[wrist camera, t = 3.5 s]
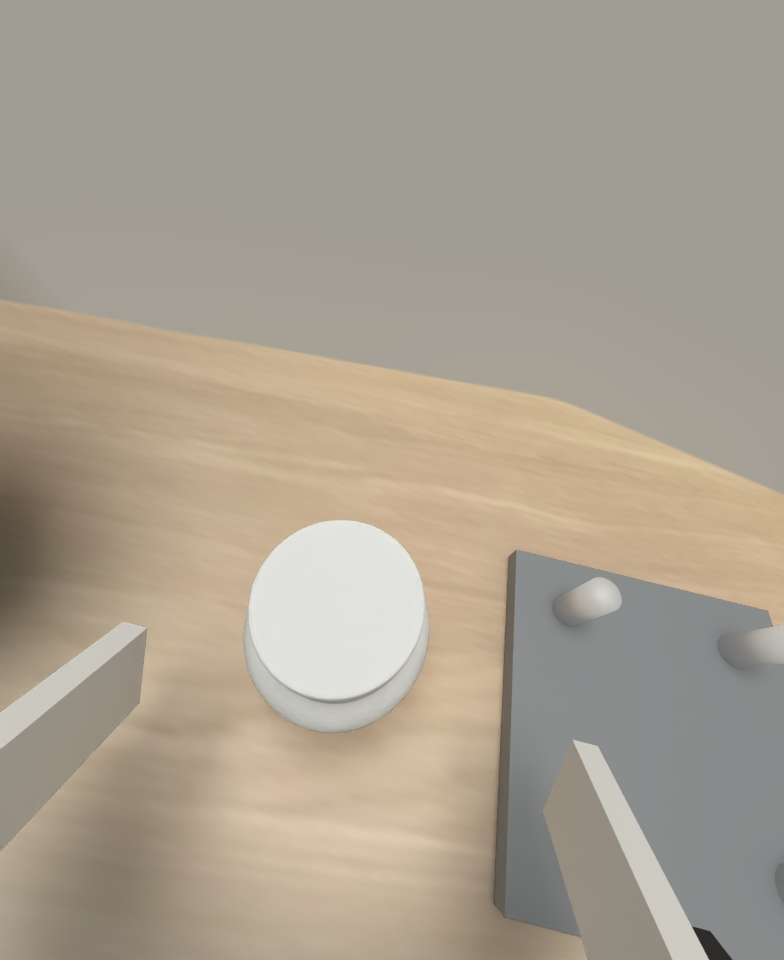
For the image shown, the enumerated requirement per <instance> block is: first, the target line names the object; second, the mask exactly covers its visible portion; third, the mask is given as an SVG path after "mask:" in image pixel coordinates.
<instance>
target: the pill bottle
mask: <svg viewBox="0 0 784 960" xmlns="http://www.w3.org/2000/svg"><path fill="white" fill-rule="evenodd" d="M428 641H429V615H428V609H427V605H426V601H425V596H424V588H423V584H422V581H421V577H420V574H419V572H418V570H417V567H416V565H415V564H414V562H413V560H412V558H411V557H410V555H409V554H408V552H407V551H406V550H405V549H404V548H403V546H402V545H401V544H400V543H399V542H397V541H396V540H395V539H394V538H393V537H391V536H390V535H388V534H387V533H385V532H384V531H382V530H380V529H378V528H376V527H374V526H371V525H368V524H365V523H361V522H357V521H351V520H332V521H325V522H320V523H316V524H313V525H310V526H308V527H305V528H303V529H300V530H298V531H297V532H295V533H294V534H292V535H290V536H289V537H288V538H286V539H285V540H284V541H282V542H281V543H280V544H279V545H278V546H277V547H276V548H275V549H274V550H273V551H272V552H271V553H270V554H269V556H268V557H267V558H266V560H265V561H264V563H263V564H262V566H261V567H260V569H259V571H258V573H257V576H256V578H255V580H254V583H253V585H252V588H251V593H250V598H249V604H248V611H247V615H246V620H245V626H244V653H245V659H246V663H247V667H248V671H249V674H250V676H251V679H252V681H253V683H254V685H255V687H256V689H257V690H258V692H259V693H260V695H261V697H262V698H263V699H264V700H265V702H266V703H267V704H268V705H269V706H270V707H271V708H272V709H273V710H274V711H275V712H276V713H278V714H279V715H280V716H282V717H283V718H285V719H286V720H288V721H289V722H291V723H293V724H295V725H297V726H300V727H303V728H305V729H308V730H312V731H317V732H325V733H339V732H346V731H351V730H355V729H359V728H362V727H364V726H367V725H369V724H371V723H373V722H375V721H376V720H378V719H380V718H382V717H383V716H385V715H386V714H387V713H389V712H390V711H391V710H392V709H393V708H394V707H395V706H396V705H398V704H399V703H400V702H401V701H402V700H403V698H404V697H405V696H406V695H407V693H408V692H409V690H410V689H411V687H412V686H413V684H414V683H415V681H416V679H417V677H418V675H419V672H420V670H421V667H422V665H423V661H424V658H425V655H426V652H427V647H428Z"/></svg>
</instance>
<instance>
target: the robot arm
mask: <svg viewBox="0 0 784 960" xmlns="http://www.w3.org/2000/svg"><path fill="white" fill-rule="evenodd" d="M146 636H147V628H146V627H142V626H138V625H134V624H131V623H127V622H122V623H121V624H119V625H118V626H117V627H115V628H114V629H112V630H111V631H110V632H108V633H107V634H106V635H104V636H103V637H102V638H100V639H99V640H98V641H96V642H95V643H93V644H92V645H91V646H89V647H88V648H87V649H85V650H84V651H83V652H81V653H80V654H79V655H77V656H76V657H74V658H73V659H72V660H70V661H69V662H68V663H66V664H65V665H64V666H62V667H61V668H60V669H58V670H57V671H56V672H54V673H53V674H51V675H50V676H49V677H47V678H46V679H45V680H43V681H42V682H41V683H39V684H38V685H37V686H35V687H34V688H32V689H31V690H30V691H28V692H27V693H26V694H24V695H23V696H22V697H20V698H19V699H18V700H16V701H15V702H13V703H12V704H11V705H9V706H8V707H7V708H5V709H4V710H3V711H1V712H0V851H1V850H2V849H3V848H4V847H5V846H6V845H7V844H8V843H9V842H10V841H11V839H12V838H13V837H14V836H15V835H16V834H17V833H18V832H19V831H20V830H21V829H22V828H23V827H24V826H25V825H26V823H27V822H28V821H29V820H30V819H31V818H32V817H33V816H34V815H35V814H36V813H37V812H38V811H39V810H40V808H41V807H42V806H43V805H44V804H45V803H46V802H47V801H48V800H49V799H50V798H51V797H52V796H53V795H54V793H55V792H56V791H57V790H58V789H59V788H60V787H61V786H62V785H63V784H64V783H65V782H66V781H67V780H68V779H69V777H70V776H71V775H72V774H73V773H74V772H75V771H76V770H77V769H78V768H79V767H80V766H81V765H82V764H83V762H84V761H85V760H86V759H87V758H88V757H89V756H90V755H91V754H92V753H93V752H94V751H95V750H96V749H97V747H98V746H99V745H100V744H101V743H102V742H103V741H104V740H105V739H106V738H107V737H108V736H109V735H110V734H111V733H112V731H113V730H114V729H115V728H116V727H117V726H118V725H119V724H120V723H121V722H122V721H123V720H124V719H125V718H126V716H127V715H128V714H129V713H130V712H131V711H132V710H133V709H134V708H135V707H136V706H137V705H138V704H139V700H140V691H141V682H142V673H143V664H144V654H145V645H146ZM543 813H544V817H545V820H546V823H547V826H548V830H549V833H550V836H551V840H552V843H553V846H554V850H555V853H556V856H557V860H558V863H559V866H560V869H561V873H562V876H563V879H564V883H565V886H566V889H567V893H568V896H569V899H570V902H571V906H572V909H573V912H574V916H575V919H576V922H577V926H578V929H579V932H580V936H581V939H582V942H583V945H584V949H585V952H586V955H587V959H588V960H732V958H731V957H730V956H729V955H728V953H727V952H726V951H725V949H724V948H723V947H722V946H721V944H720V943H719V942H718V940H717V939H716V938H715V937H714V935H713V934H712V933H711V931H708V930H704V929H701V928H697V927H693V926H691V924H690V922H689V920H688V918H687V916H686V915H685V913H684V911H683V909H682V907H681V905H680V903H679V901H678V899H677V897H676V895H675V893H674V892H673V890H672V888H671V886H670V884H669V882H668V880H667V878H666V876H665V874H664V872H663V870H662V868H661V867H660V865H659V863H658V861H657V859H656V857H655V855H654V853H653V851H652V849H651V847H650V845H649V843H648V842H647V840H646V838H645V836H644V834H643V832H642V830H641V828H640V826H639V824H638V822H637V820H636V818H635V817H634V815H633V813H632V811H631V809H630V807H629V805H628V803H627V801H626V799H625V797H624V795H623V793H622V792H621V790H620V788H619V786H618V784H617V782H616V780H615V778H614V776H613V774H612V772H611V770H610V768H609V767H608V765H607V763H606V761H605V759H604V757H603V755H602V753H601V751H600V749H599V747H598V746H596V745H592V744H588V743H584V742H580V741H577V740H573V739H572V742H571V744H570V746H569V749H568V751H567V754H566V756H565V758H564V761H563V763H562V766H561V768H560V770H559V773H558V775H557V777H556V780H555V782H554V785H553V787H552V789H551V792H550V794H549V797H548V799H547V801H546V804H545V806H544V809H543Z"/></svg>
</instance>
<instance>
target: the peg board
mask: <svg viewBox="0 0 784 960" xmlns="http://www.w3.org/2000/svg"><path fill="white" fill-rule="evenodd" d="M572 739H573V740H577V741H580V742H584V743H588V744H592V745H596V746H598V747H599V749H600V751H601V753H602V755H603V757H604V759H605V761H606V763H607V765H608V767H609V768H610V770H611V772H612V774H613V776H614V778H615V780H616V782H617V784H618V786H619V788H620V790H621V792H622V793H623V795H624V797H625V799H626V801H627V803H628V805H629V807H630V809H631V811H632V813H633V815H634V817H635V818H636V820H637V822H638V824H639V826H640V828H641V830H642V832H643V834H644V836H645V838H646V840H647V842H648V843H649V845H650V847H651V849H652V851H653V853H654V855H655V857H656V859H657V861H658V863H659V865H660V867H661V868H662V870H663V872H664V874H665V876H666V878H667V880H668V882H669V884H670V886H671V888H672V890H673V892H674V893H675V895H676V897H677V899H678V901H679V903H680V905H681V907H682V909H683V911H684V913H685V915H686V916H687V918H688V920H689V922H690V924H691V926H693V927H697V928H701V929H704V930H708V931H711V933H712V934H713V935H714V937H715V938H716V939H717V940H718V942H719V943H720V944H721V946H722V947H723V948H724V949H725V951H726V952H727V953H728V955H729V956H730V957H731V958H732V960H784V624H783V625H778V626H773V625H772V622H771V619H770V616H769V613H768V611H766V610H762V609H758V608H754V607H750V606H746V605H742V604H737V603H733V602H729V601H725V600H721V599H717V598H713V597H709V596H705V595H701V594H696V593H692V592H688V591H684V590H680V589H676V588H672V587H668V586H664V585H660V584H655V583H651V582H647V581H643V580H639V579H635V578H631V577H627V576H623V575H619V574H614V573H610V572H606V571H602V570H598V569H594V568H590V567H586V566H582V565H578V564H573V563H569V562H565V561H561V560H557V559H553V558H549V557H545V556H541V555H537V554H532V553H528V552H524V551H520V550H516V551H514V552H513V553H512V554H511V555H510V556H509V564H508V587H507V610H506V633H505V657H504V680H503V703H502V726H501V749H500V772H499V796H498V819H497V842H496V865H495V888H494V904H495V906H496V907H497V908H498V909H499V911H500V912H501V913H502V914H503V916H504V917H505V918H509V919H513V920H517V921H521V922H525V923H529V924H532V925H536V926H540V927H544V928H548V929H552V930H556V931H559V932H563V933H567V934H571V935H575V936H579V937H581V936H580V932H579V929H578V926H577V922H576V919H575V916H574V912H573V909H572V906H571V902H570V899H569V896H568V893H567V889H566V886H565V883H564V879H563V876H562V873H561V869H560V866H559V863H558V860H557V856H556V853H555V850H554V846H553V843H552V840H551V836H550V833H549V830H548V826H547V823H546V820H545V817H544V813H543V809H544V806H545V804H546V801H547V799H548V797H549V794H550V792H551V789H552V787H553V785H554V782H555V780H556V777H557V775H558V773H559V770H560V768H561V766H562V763H563V761H564V758H565V756H566V754H567V751H568V749H569V746H570V744H571V742H572Z"/></svg>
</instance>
